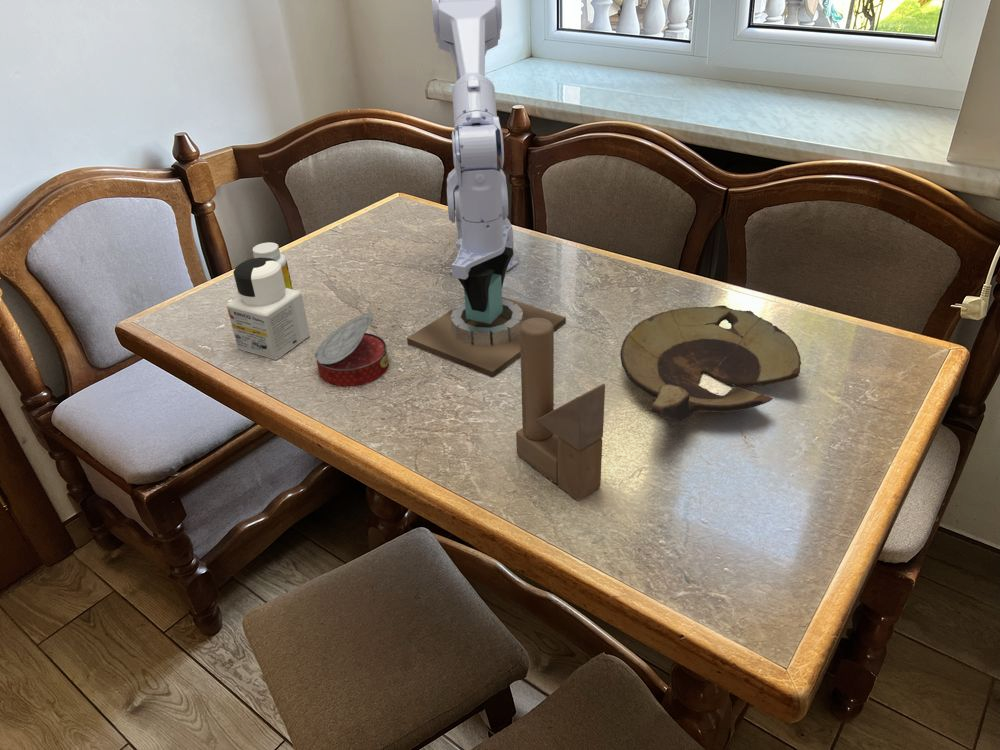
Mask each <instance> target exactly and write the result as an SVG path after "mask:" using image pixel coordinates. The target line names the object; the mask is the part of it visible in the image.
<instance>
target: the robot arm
mask: <svg viewBox="0 0 1000 750" xmlns="http://www.w3.org/2000/svg"><path fill="white" fill-rule="evenodd" d="M431 9H432V12H431V13H432V22H433V33H434V34H435V41H436V43H437V44H438V49H439V50H443V51H445V52H448V53H449V54H450V56H451V58H452V60H453V63H454V65H455V72H456V74H455V75H456V81H455V83H454V84H453V86H452V89H451V96H452V110H453V125H454V130H452V133H451V143H452V144H451V145H452V146H451V147H452V158H453V166H454V168H453V169H452V170H451V171H450V172H449V173H448V174H447V178H446V199H447V214H448V220H449V221H450V222H451V223H453V224H455V223H456V229H457V239H458V240H457V241H455V247H456V248H457V249H458V253H457V256H456V259H455V261H454V262H453V263H451V269H449V274H452V278H456V279H458V281H459V282H460V284H461V285H462V287H463V291H464V290H465V292H466V295H467V297H468V300H469V303H470V306H471V308H472V310H475V311H480V312H485V311H486V308H487V303H488V289H489V284H490V280H491V277H492V275H493V274H498V275H501V284H502V287H503V285H504V281H505V277H506V273H507V271H509V270H510V269H513V268H514V267H516V266H517V265H519V264H518V263H519V262H518V261H517V260H515V258H514V257H515V256H514V254H515V253H514V232H513V231H514V230H513V226H512V223H511V222H510V220H509V218H508V216H509V197H508V196H509V195H508V186H507V177H506V174H505V172H504V171H503V168H504V167H503V166H504V163H505V162H504V161H505V151H504V150H505V148H504V137H503V130H502V126H501V124H500V117H499V116H498V114H497V113H498V112H497V111H498V110H497V104H496V103H497V102H496V101H497V100H496V91H495V90H496V89H495V85H494V83H493V81H491V79H489V78H488V77H486V76H485V73H486V72H485V70H486V67H485V66H486V55H487V52H488V51H489V50H491V49H493V48H496V47H497V46H499V40H500V39H501V32H502V31H501V30H502V26H503V19H502V17H503V16H502V15H503V14H502V12H503V11H502V10H503V9H502V0H431ZM498 159H499V161H500V162H499V163H500V166H499V165H498Z"/></svg>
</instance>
